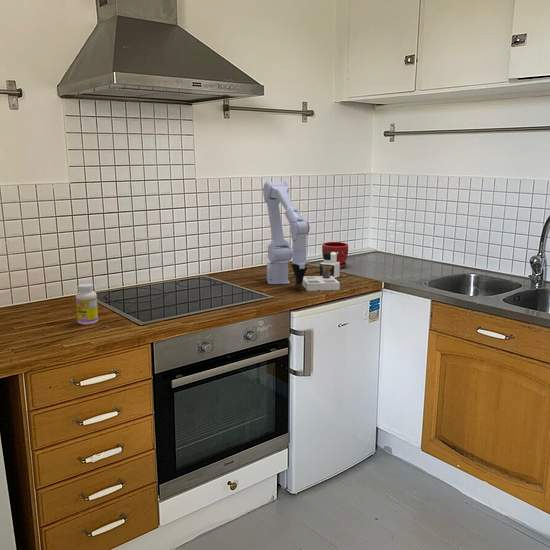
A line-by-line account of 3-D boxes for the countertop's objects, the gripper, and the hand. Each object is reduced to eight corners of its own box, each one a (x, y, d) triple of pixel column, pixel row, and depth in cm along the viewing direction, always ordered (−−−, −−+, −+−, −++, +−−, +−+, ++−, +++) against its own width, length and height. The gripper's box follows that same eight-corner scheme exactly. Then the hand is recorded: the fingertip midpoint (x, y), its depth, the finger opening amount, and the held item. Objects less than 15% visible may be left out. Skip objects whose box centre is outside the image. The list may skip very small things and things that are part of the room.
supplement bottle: (73, 322, 186) (70, 285, 183) (89, 318, 191) (87, 281, 189) (86, 326, 182) (83, 288, 180) (102, 321, 188) (100, 284, 185)
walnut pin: (295, 287, 231) (296, 271, 230) (294, 286, 234) (294, 269, 233) (302, 287, 232) (303, 271, 230) (301, 285, 235) (301, 269, 233)
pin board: (306, 290, 232) (307, 272, 230) (301, 283, 245) (301, 265, 243) (339, 290, 233) (340, 271, 232) (332, 282, 247) (332, 264, 245)
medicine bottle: (319, 278, 255) (319, 252, 253) (325, 275, 261) (325, 250, 259) (333, 280, 252) (334, 253, 249) (339, 277, 258) (340, 251, 256)
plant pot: (316, 265, 284) (317, 242, 281) (339, 263, 289) (339, 241, 287) (330, 270, 272) (330, 246, 270) (352, 268, 278) (353, 244, 275)
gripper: (312, 253, 223) (311, 286, 226) (305, 247, 237) (305, 278, 240) (294, 253, 222) (294, 286, 225) (289, 247, 236) (289, 278, 239)
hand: (298, 282), depth 233 cm, fingers closed on walnut pin, 3 cm apart
